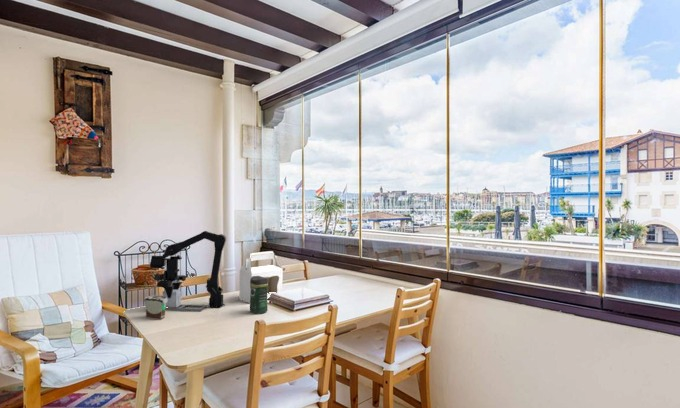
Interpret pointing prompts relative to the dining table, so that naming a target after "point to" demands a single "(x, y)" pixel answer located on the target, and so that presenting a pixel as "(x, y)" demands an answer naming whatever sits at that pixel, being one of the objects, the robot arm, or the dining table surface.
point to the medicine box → (173, 298)
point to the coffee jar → (258, 294)
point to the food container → (155, 306)
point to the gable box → (260, 274)
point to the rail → (182, 308)
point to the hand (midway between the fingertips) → (171, 297)
